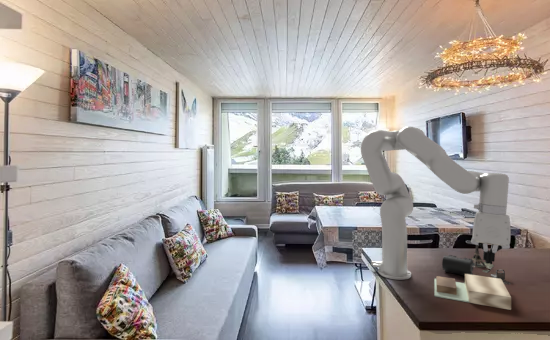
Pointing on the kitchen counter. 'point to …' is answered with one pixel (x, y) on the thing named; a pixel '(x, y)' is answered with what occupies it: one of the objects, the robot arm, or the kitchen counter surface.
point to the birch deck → (487, 291)
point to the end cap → (457, 265)
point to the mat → (460, 294)
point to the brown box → (446, 285)
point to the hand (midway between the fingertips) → (488, 262)
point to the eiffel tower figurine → (478, 259)
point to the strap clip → (500, 276)
